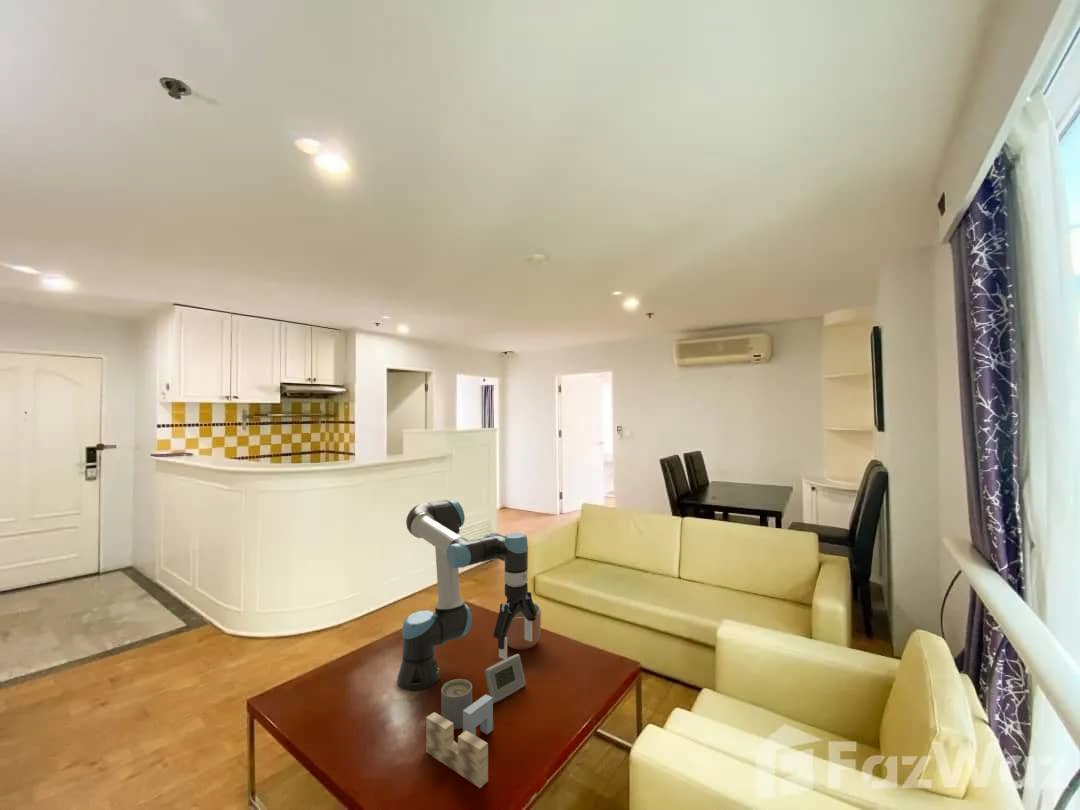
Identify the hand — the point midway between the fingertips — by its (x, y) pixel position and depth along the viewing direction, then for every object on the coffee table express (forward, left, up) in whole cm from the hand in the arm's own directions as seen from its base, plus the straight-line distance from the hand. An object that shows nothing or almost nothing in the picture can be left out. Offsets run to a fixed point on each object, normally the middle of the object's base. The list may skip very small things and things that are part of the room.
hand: (516, 648), depth 146 cm
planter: (-30, +39, -23) cm, 55 cm away
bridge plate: (-5, -13, -23) cm, 27 cm away
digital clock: (-13, +9, -23) cm, 28 cm away
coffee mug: (-18, -10, -23) cm, 31 cm away
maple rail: (-2, -25, -23) cm, 34 cm away
